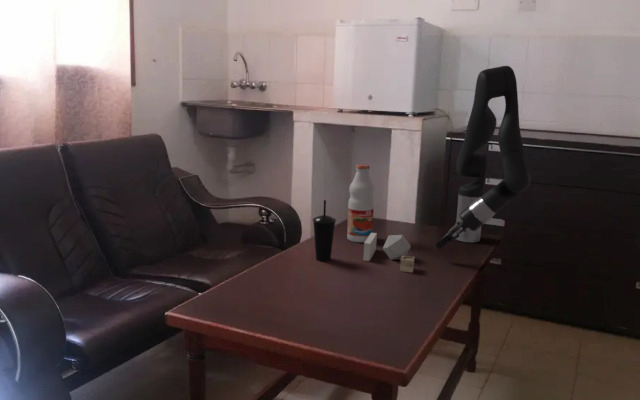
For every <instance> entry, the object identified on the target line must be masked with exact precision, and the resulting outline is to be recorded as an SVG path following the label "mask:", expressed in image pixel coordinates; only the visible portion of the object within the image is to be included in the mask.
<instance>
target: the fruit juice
mask: <svg viewBox="0 0 640 400" xmlns="http://www.w3.org/2000/svg"><path fill="white" fill-rule="evenodd" d="M369 170H370V165H369V164H365V163H359V164H358V163H357V164H356V165H355V171H356V172H355V175H354V177H353V180H352V182H351V183H350V185H349V188H348V190H349V192H348V193H349V199H348V203H347V204H348V205H347V226H346V227H347V230H346V237H347V240H348V241H350V242H354V243H365V241H366V240H367V238H368V237H369V235H370V234H371V233H374V232H373V227H374V211H375V210H374V209H375V208H374V207H375V204H374V198H373V197H374V193H375V186H374V184H373V182H372V180H371V177H370V173H369Z"/></svg>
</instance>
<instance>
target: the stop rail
mask: <svg viewBox="0 0 640 400" xmlns="http://www.w3.org/2000/svg"><path fill="white" fill-rule="evenodd" d="M377 233H378V232H372V233H371V234H370V235H369V237H368V238H367V240H366V241H365V242H363V258H362V259H363V261H365V262H370V261H371V259H372V257H373V256H374V254H375V252H376V250H377V239H378V238H377V237H378V236H377V235H378V234H377Z"/></svg>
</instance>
